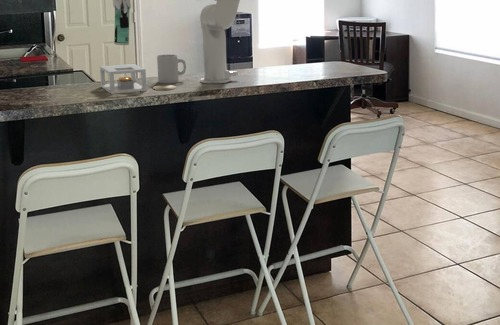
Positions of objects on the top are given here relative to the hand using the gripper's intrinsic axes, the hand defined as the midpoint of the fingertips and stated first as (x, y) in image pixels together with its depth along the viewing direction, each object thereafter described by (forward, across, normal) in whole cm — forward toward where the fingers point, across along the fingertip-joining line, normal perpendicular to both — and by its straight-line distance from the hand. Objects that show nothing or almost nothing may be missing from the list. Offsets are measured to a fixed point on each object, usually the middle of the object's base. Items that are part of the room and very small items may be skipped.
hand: (122, 26), depth 267 cm
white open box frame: (+25, +4, +1) cm, 25 cm away
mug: (+25, +12, -22) cm, 36 cm away
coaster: (+25, -3, -14) cm, 29 cm away
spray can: (+7, 0, +1) cm, 7 cm away
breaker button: (+24, 0, +1) cm, 24 cm away
